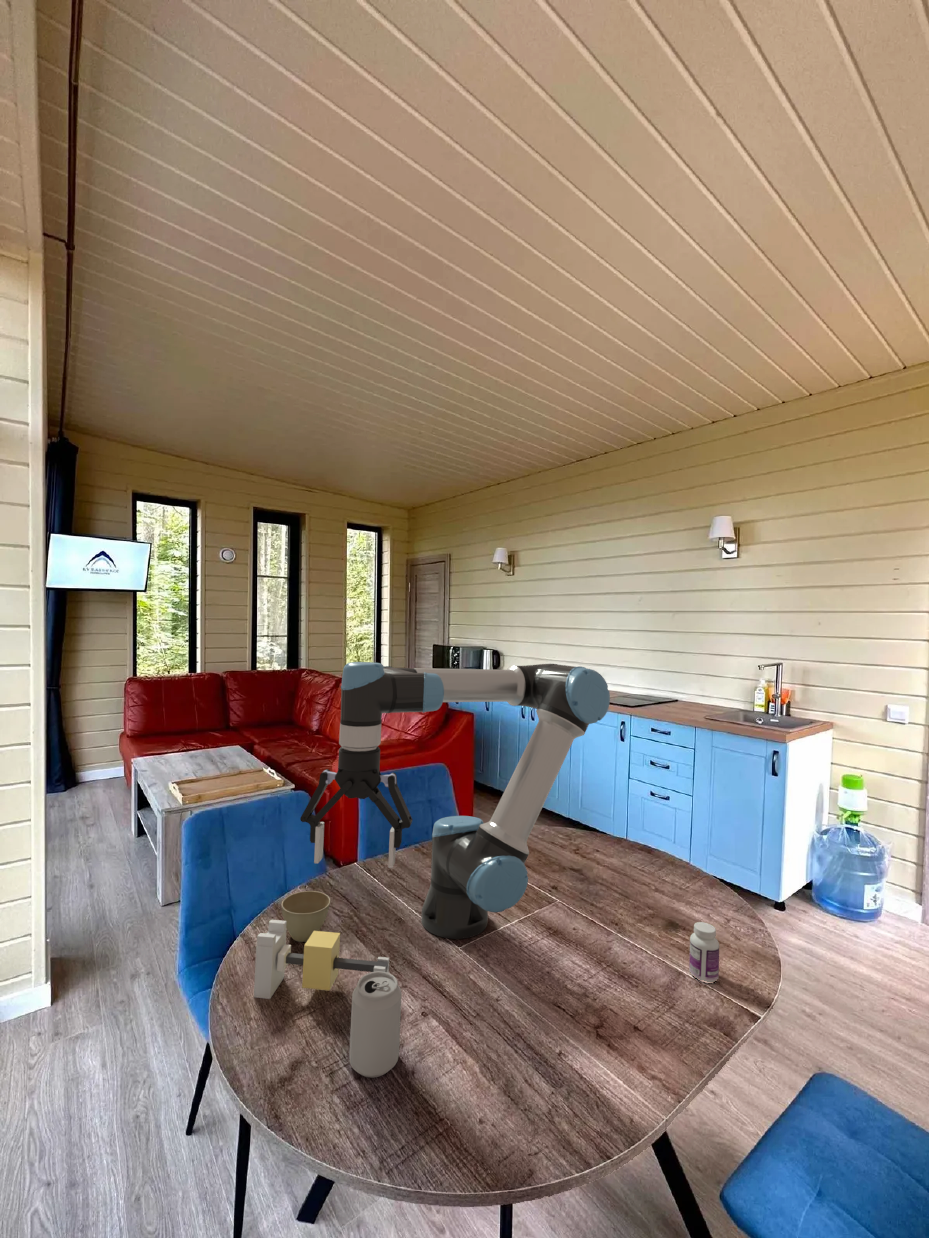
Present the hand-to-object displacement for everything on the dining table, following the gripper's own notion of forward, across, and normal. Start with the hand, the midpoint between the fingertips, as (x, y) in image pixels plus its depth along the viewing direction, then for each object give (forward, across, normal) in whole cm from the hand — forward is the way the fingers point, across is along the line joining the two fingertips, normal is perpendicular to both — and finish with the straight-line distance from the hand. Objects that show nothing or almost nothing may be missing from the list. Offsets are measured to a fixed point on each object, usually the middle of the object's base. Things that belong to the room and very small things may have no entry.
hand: (354, 862), depth 100 cm
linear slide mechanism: (+23, +4, +1) cm, 23 cm away
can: (+23, -8, +16) cm, 29 cm away
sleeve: (+21, +5, +1) cm, 22 cm away
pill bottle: (+24, -68, -12) cm, 73 cm away
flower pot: (+23, +14, -16) cm, 31 cm away
